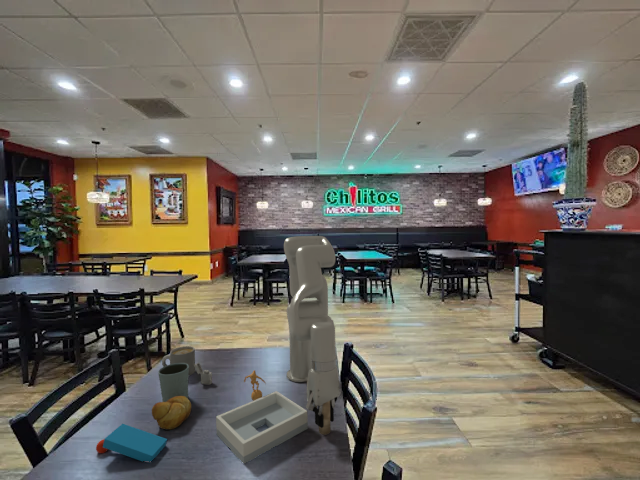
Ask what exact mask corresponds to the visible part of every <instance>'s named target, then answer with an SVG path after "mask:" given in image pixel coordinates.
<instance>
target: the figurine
mask: <svg viewBox="0 0 640 480" xmlns="http://www.w3.org/2000/svg"><path fill="white" fill-rule="evenodd" d="M248 378H249V379H250V384H251V386H252V393H251V395H250V397H251V400H252V401H254V400H256V399H259V398H261V397H263V392H262V391H261V390H260V389H259V387H260V383H259V381H258V380H261V381H262V382H263V383H265V385H266V384H267V383H266V381H265V380H264V379H263V378H262V377H260V376H259V375H257V373H256V370H253V371H252V373H251V374H249V375H247V376H245V377H244V380H243V383H246V380H247V379H248ZM257 379H258V380H257ZM255 385H256V387H255ZM255 388H256V389H255Z"/></svg>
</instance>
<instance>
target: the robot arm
mask: <svg viewBox="0 0 640 480" xmlns="http://www.w3.org/2000/svg"><path fill="white" fill-rule="evenodd" d="M283 251H284V254H285V257H286V259H287V260H286V261H287V263H288V266H289V269H288V270H289V294H290V296H291V297H292V299H291V300H290V303H289V304H288V305H287V307H286V316H287V321H288V322H287V323H288V330H289V331H288V333H289V335H288V337H289V369H288V371H287V372H286V378H287V379H288V380H289V381H291V382H295V383H306V400H307V403H306V405H305V410H308V411H311V412H313V413H314V423H315V425H317V426H318V428H319V427H321V428H323V426H324V419H323V414H322V405H323V404H324V403H326V402H328V401H330V423H332V422H334V420H335V417H334V416H335V414H334V413H335V411H334V408H336V402H337V400H338V398H339V397H340V395H341V394H342V392H341V389H340V378H339V371H338V367H337V362H336V360H337V358H338V356H337V354H336V326H335V323H334V322H335V321H334V320H333V319H332V317H331V316H330V315H329V293H328V292H329V289H328V287H329V286H328V282H327V279H326V278H325V276H324V275H323V273H322V269H323V268H332V267H333V266H334V265H335V263H336V253H335V250H334V247H333V246H332V244H331V242H330V241H329V240H328V238H327V237H325V236H322V235H309V236H308V235H300V236H299V235H297V236H291V237H287V238H286V239H285V240H284V243H283ZM304 299H315V300H304Z"/></svg>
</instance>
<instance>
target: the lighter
mask: <svg viewBox="0 0 640 480" xmlns="http://www.w3.org/2000/svg"><path fill="white" fill-rule="evenodd" d="M194 366H195V372H196V373H197V375H200V383H201V385H209V386H210V385H211V384H213V372H212V371H211V372H210V370H209V369H204V370H203V368H202V366H201V364H200V362H197V363H195V365H194Z"/></svg>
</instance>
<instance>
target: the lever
mask: <svg viewBox="0 0 640 480" xmlns="http://www.w3.org/2000/svg"><path fill="white" fill-rule="evenodd" d="M167 440H168V438H165V437H162V436H159V435H157V434H154V433H151V432H148V431H145V430H143V429H141V428H140V429H139V428H137V427H133V426H131V425H129V424H125V423H121V424H120V425H119V426H118V427H117V428H115V429H114V430H113V431H112V432H111V433H110V434H108V435H107V436H106V437H105V438H104V439H101V440H99V441H98V443H97V444H96V447H95V450H96V452H97V453H99V454H104V453H106V452H108V451H112V452H115V453H117V454H120V455H123V456H127V457H129V458H132V459H133V460H138V461H140V462H143V461H149V462H150V461H152V460H153V459H154V458H155V459H156V457H157V456H158V455H159V454H160V453H161V452H162V450H163V449H164V448H165V447H166V446H167V445H166V444H167V442H168V441H167ZM107 450H108V451H107ZM160 451H161V452H160ZM155 459H154V460H155ZM154 460H153V461H154ZM153 461H152V462H153Z"/></svg>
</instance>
